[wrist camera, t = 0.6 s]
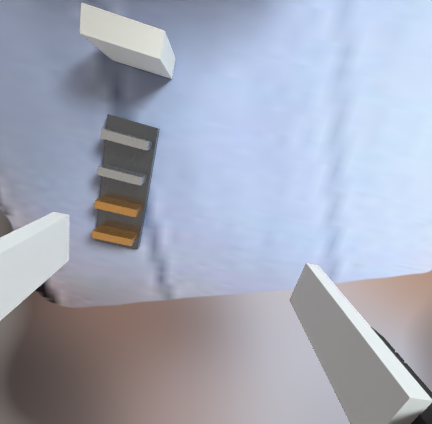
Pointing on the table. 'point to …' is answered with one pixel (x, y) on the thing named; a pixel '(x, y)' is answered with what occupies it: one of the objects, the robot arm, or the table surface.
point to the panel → (128, 40)
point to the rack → (124, 181)
